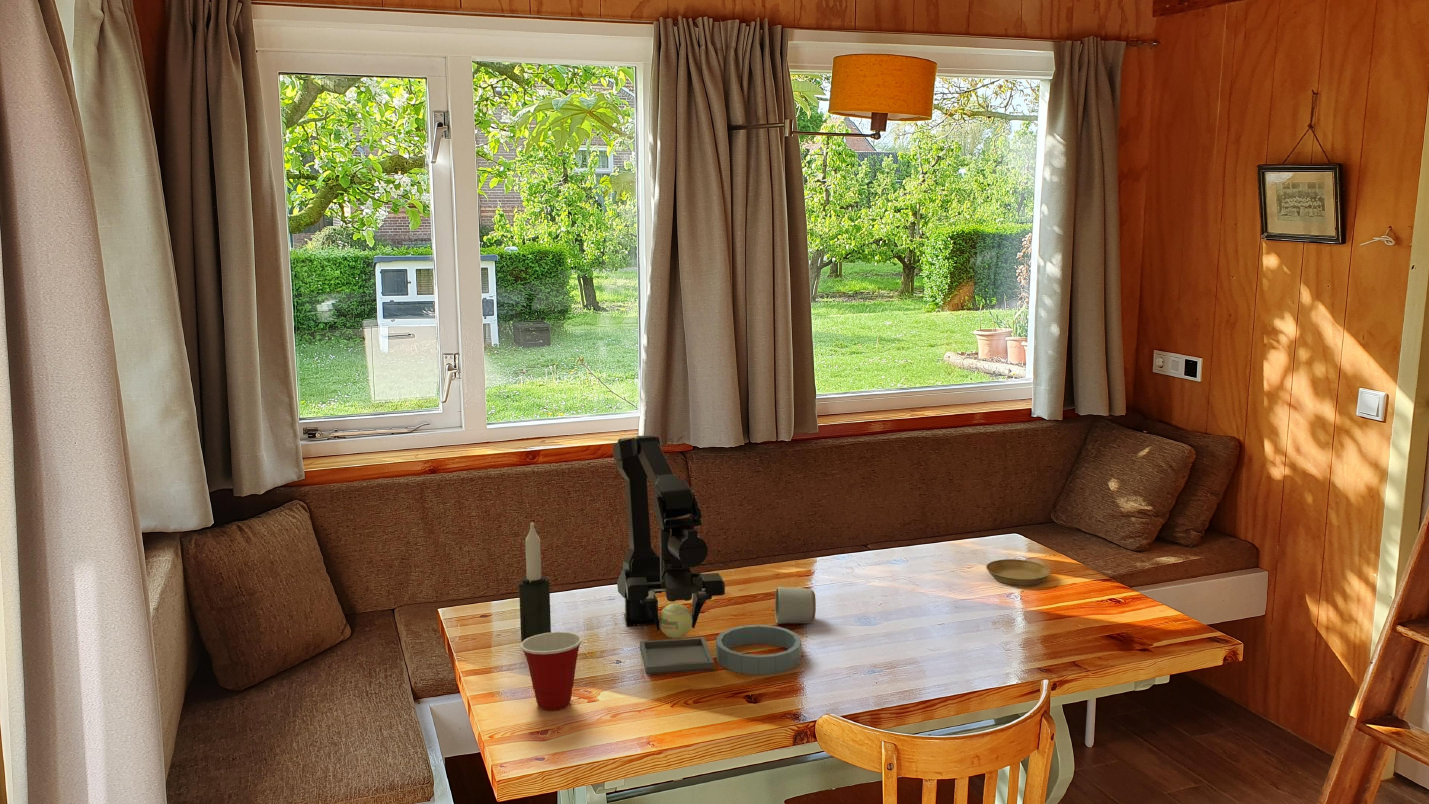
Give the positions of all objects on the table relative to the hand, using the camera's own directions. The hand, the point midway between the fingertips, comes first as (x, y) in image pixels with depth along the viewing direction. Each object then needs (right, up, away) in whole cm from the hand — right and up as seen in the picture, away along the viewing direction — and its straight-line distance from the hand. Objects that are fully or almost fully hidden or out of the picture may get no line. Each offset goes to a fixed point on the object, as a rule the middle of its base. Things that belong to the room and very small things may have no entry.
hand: (675, 628), depth 213 cm
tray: (0, -6, +1) cm, 6 cm away
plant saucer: (+80, +2, +47) cm, 93 cm away
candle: (-29, -5, +10) cm, 31 cm away
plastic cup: (-21, -10, -18) cm, 30 cm away
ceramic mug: (+24, -3, +22) cm, 33 cm away
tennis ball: (0, -1, 0) cm, 1 cm away
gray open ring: (+16, -6, +1) cm, 17 cm away
